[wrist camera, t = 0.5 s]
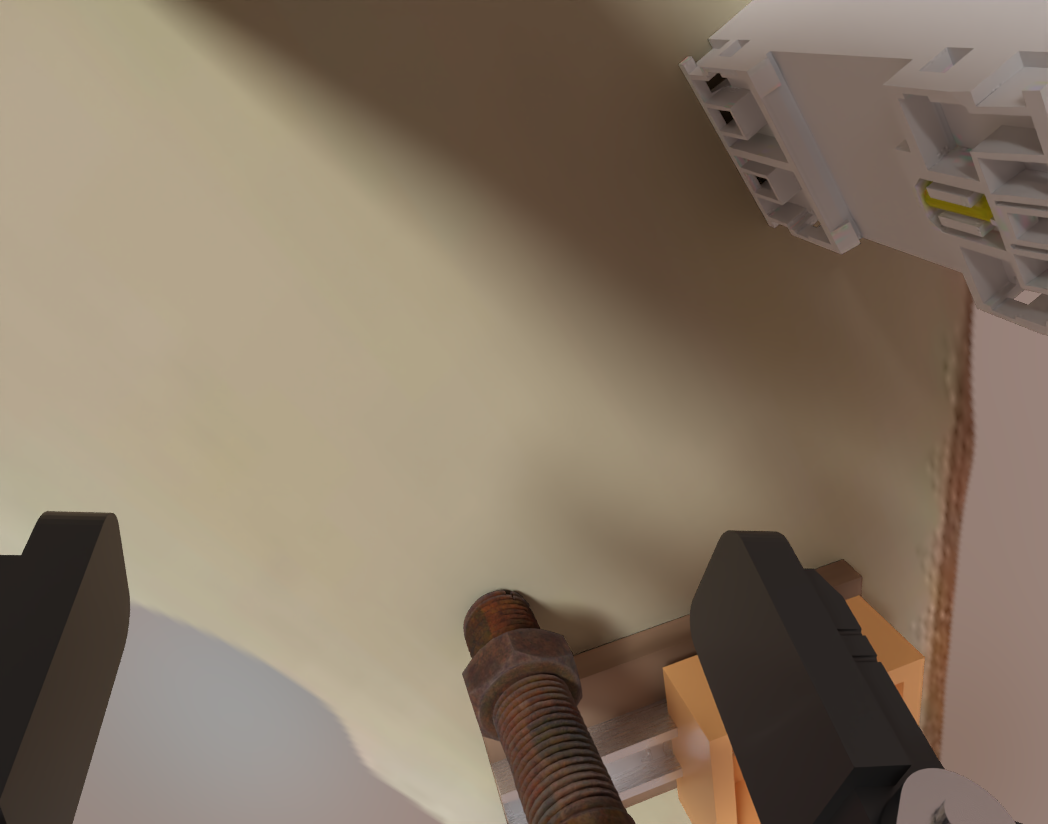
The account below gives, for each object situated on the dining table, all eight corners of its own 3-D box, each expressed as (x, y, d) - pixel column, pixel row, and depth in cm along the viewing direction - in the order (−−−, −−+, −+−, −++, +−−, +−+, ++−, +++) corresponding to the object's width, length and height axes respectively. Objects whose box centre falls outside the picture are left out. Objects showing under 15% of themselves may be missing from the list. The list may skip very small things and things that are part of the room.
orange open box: (662, 667, 38) (709, 741, 34) (859, 595, 40) (924, 657, 36) (678, 798, 42) (721, 877, 38) (854, 728, 44) (912, 796, 40)
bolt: (418, 656, 36) (509, 1008, 23) (448, 562, 35) (564, 885, 22) (536, 662, 39) (679, 986, 26) (569, 574, 37) (740, 873, 24)
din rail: (491, 764, 38) (501, 795, 37) (860, 625, 42) (883, 648, 40) (504, 811, 40) (514, 843, 38) (858, 673, 44) (881, 698, 42)
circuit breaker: (1056, -16, 32) (1614, -41, 19) (769, 225, 32) (1113, 362, 19) (1001, -214, 28) (1651, -420, 15) (678, 64, 29) (1028, 99, 16)
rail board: (470, 693, 38) (477, 716, 37) (843, 559, 42) (862, 576, 40) (508, 826, 43) (516, 851, 42) (840, 696, 46) (857, 715, 45)
